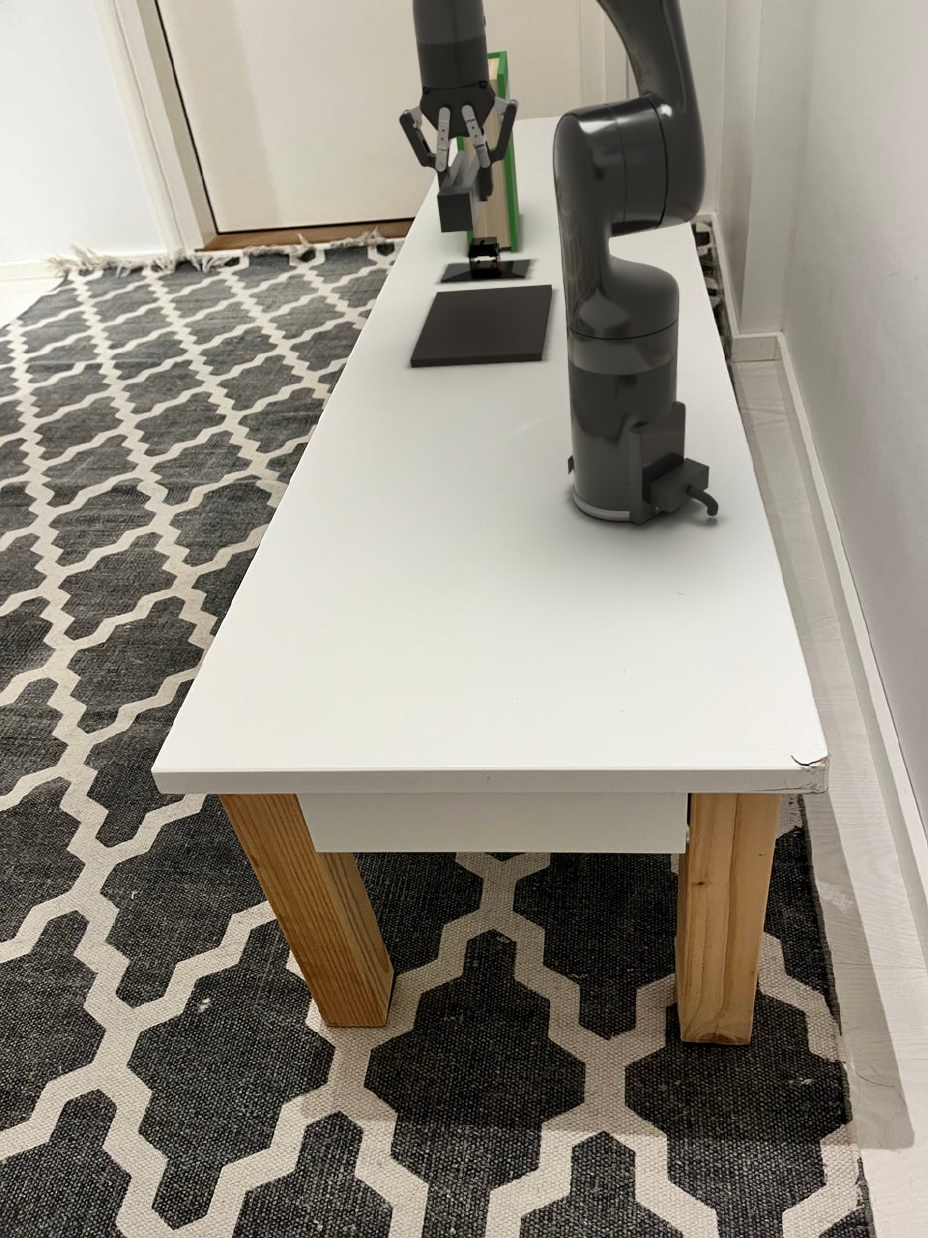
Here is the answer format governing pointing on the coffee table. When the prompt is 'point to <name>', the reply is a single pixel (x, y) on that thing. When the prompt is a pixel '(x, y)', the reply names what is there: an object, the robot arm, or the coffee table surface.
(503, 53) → the hardback book
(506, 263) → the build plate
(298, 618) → the coffee table surface
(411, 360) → the mat
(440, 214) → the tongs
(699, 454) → the coffee table surface
